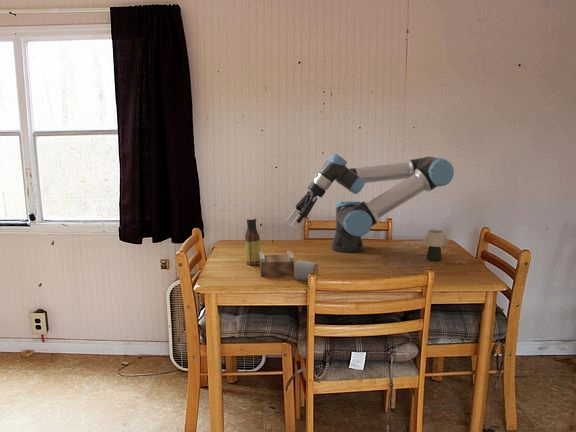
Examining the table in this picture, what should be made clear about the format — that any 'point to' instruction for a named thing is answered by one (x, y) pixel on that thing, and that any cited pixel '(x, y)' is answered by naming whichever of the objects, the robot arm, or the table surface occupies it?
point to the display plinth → (276, 265)
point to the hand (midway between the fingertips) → (291, 224)
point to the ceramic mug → (304, 269)
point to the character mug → (435, 243)
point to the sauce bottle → (252, 243)
